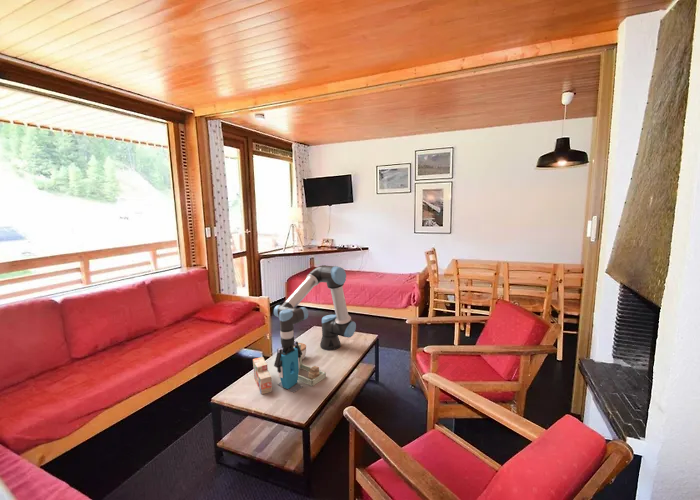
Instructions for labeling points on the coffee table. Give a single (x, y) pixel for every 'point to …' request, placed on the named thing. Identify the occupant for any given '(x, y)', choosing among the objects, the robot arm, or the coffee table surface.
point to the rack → (307, 368)
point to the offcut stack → (313, 372)
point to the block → (290, 369)
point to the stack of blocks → (262, 375)
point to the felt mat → (293, 388)
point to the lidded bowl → (303, 349)
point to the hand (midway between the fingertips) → (289, 372)
